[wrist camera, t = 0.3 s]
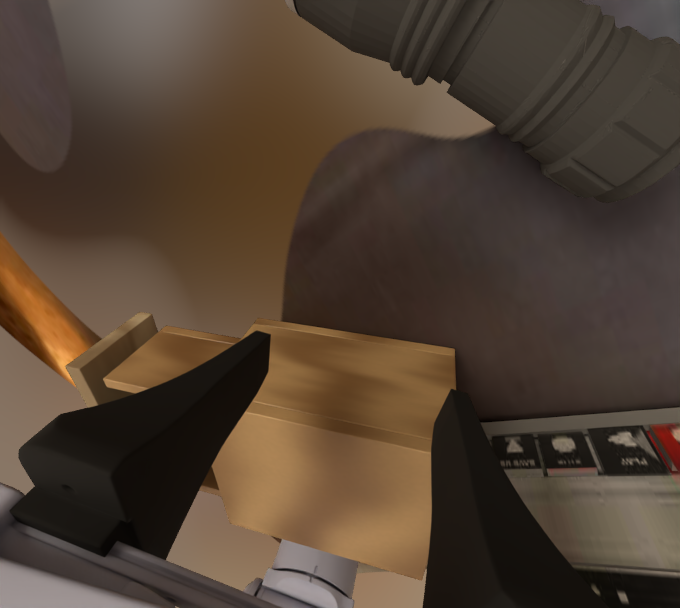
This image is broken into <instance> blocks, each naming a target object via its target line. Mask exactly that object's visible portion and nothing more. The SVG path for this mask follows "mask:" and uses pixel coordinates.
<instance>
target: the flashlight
mask: <svg viewBox="0 0 680 608" xmlns="http://www.w3.org/2000/svg"><path fill="white" fill-rule="evenodd" d="M285 2H286V4H287V6H288V8H289V9H290V10H291V11H293V12H294V13H296V14H297V15H298V16H300V17H302V18H303V19H305V20H306V21H308V22H309V23H311V24H312V25H314V26H315V27H317V28H318V29H320V30H321V31H323V32H324V33H326V34H327V35H329V36H330V37H332V38H333V39H335V40H336V41H338V42H339V43H341V44H342V45H344V46H345V47H347V48H348V49H350V50H351V51H353V52H356V53H360V54H363V55H367V56H369V57H373V58H376V59H379V60H382V61H386V62H389V63H390V66H391V68H392V70H393V71H399V70H401V74H402V76H403V77H404V78H410V77H411V78H412V82H413V83H414V85H421V84H423V83H424V82H425V80H426V78H427V77H428V76H429V77H431V78H432V79H434V80H435V81H437V82H438V83H441V82H442V80H444V81H446V82H447V83H449V84H450V85H451V86H450V88H449V89H448V91H447V93H448V94H450V95H451V96H453V97H454V98H456V99H457V100H459V101H460V102H462V103H463V104H465V105H466V106H467V107H469V108H470V109H472V110H473V111H475V112H477V113H478V114H479V115H481V116H482V117H484V118H485V119H487V120H488V121H490V122H491V123H493V124H494V125H496V128H497V131H498V132H499V133H500V134H508V136H509V139H510V140H511V141H512V142H519V141H520V142H521V143H523V150H524V151H525V152H526V153H528V154H529V155H531V156H532V157H534V158H535V159H537V160H538V161H540V170H541V172H542V173H543V174H544V175H545V176H547V177H548V178H550V179H551V180H553V181H554V182H556V183H557V184H559V185H560V186H562V187H563V188H565V189H566V190H568V191H569V192H571V193H572V194H574V195H575V196H577V197H583V198H589V197H594V198H595V199H597V200H598V201H600V202H606V203H609V202H616V201H619V200H623V199H625V198H628V197H630V196H632V195H634V194H636V193H638V192H640V191H642V190H644V189H645V188H647V187H649V186H650V185H652V184H654V183H655V182H657V181H658V180H659V179H661V178H662V177H664V176H665V175H666V174H668V173H669V172H670V171H672V170H673V169H674V168H675V167H677V166H678V165H679V164H680V44H678V43H677V42H676V41H674V40H673V39H671V38H670V37H660V38H656V39H653V40H649V39H647V38H646V37H644V36H643V35H642V34H640V33H639V32H637V31H636V30H635V29H633V28H632V27H630V26H626V27H623V28H621V29H618V28H617V27H616V26H615V19H614V16H609V15H604V16H602V13H601V9H600V6H597V5H585V4H583V3H582V2H581V1H579V0H285Z"/></svg>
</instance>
